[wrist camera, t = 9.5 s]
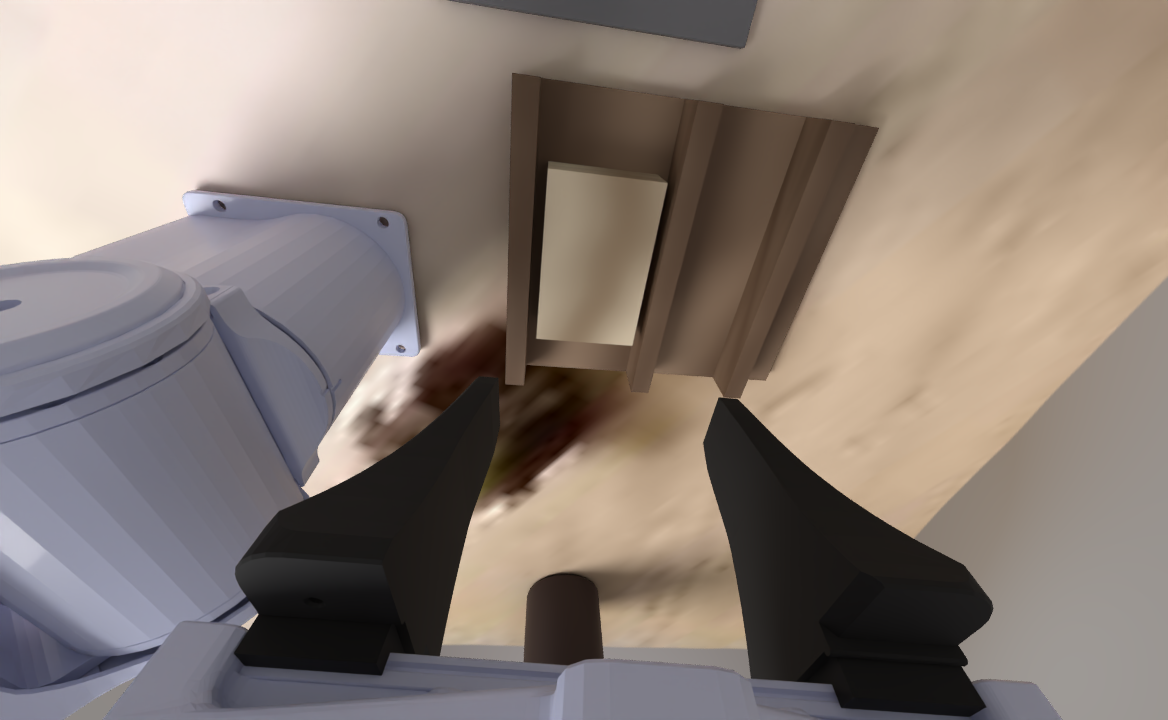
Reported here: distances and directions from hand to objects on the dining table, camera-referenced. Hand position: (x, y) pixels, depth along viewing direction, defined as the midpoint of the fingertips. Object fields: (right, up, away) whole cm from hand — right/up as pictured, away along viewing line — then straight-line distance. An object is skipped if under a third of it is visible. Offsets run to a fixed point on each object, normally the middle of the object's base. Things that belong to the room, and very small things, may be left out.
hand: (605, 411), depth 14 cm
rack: (+4, +7, +8) cm, 11 cm away
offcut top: (0, +7, +6) cm, 9 cm away
